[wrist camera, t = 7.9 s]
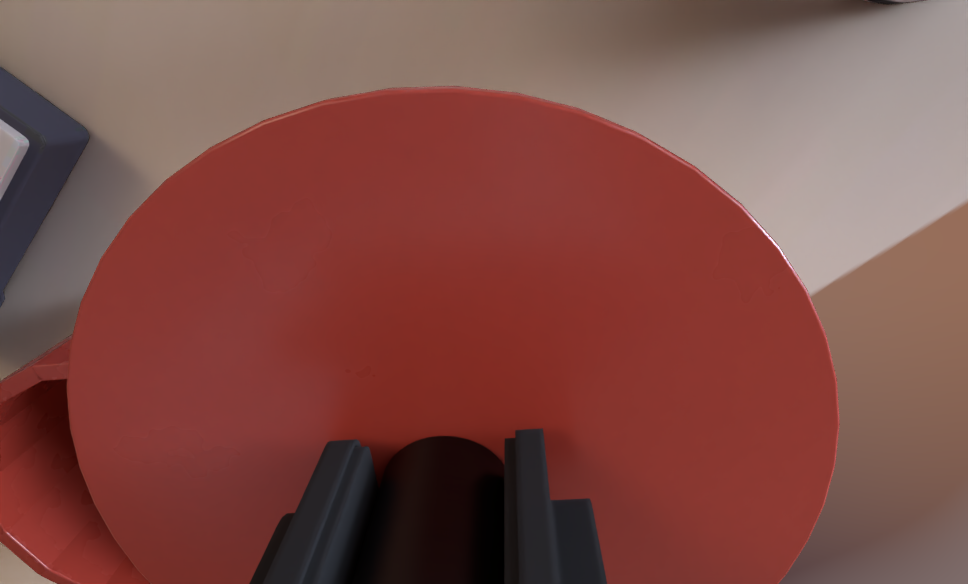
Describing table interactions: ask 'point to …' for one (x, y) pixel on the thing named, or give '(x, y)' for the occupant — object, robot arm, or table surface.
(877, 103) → the table surface
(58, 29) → the table surface
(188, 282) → the lid
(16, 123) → the calculator
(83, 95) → the table surface
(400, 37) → the table surface
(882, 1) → the white-spotted black cylinder
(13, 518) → the pot
